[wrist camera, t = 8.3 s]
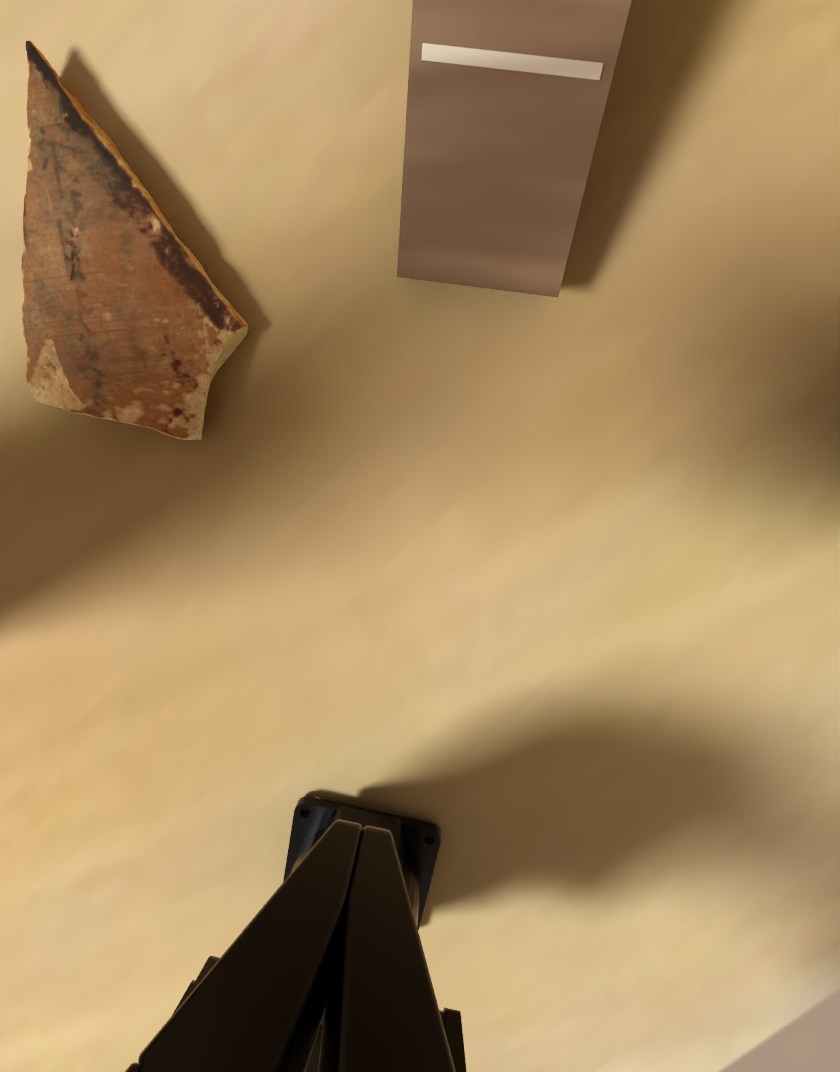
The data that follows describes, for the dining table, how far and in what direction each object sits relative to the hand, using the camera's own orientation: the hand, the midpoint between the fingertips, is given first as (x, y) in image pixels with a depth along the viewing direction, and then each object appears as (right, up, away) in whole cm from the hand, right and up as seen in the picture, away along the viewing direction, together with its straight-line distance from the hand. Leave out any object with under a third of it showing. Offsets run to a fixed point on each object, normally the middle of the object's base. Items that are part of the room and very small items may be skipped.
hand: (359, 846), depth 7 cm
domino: (+3, +13, +8) cm, 15 cm away
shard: (-11, +13, +11) cm, 20 cm away
